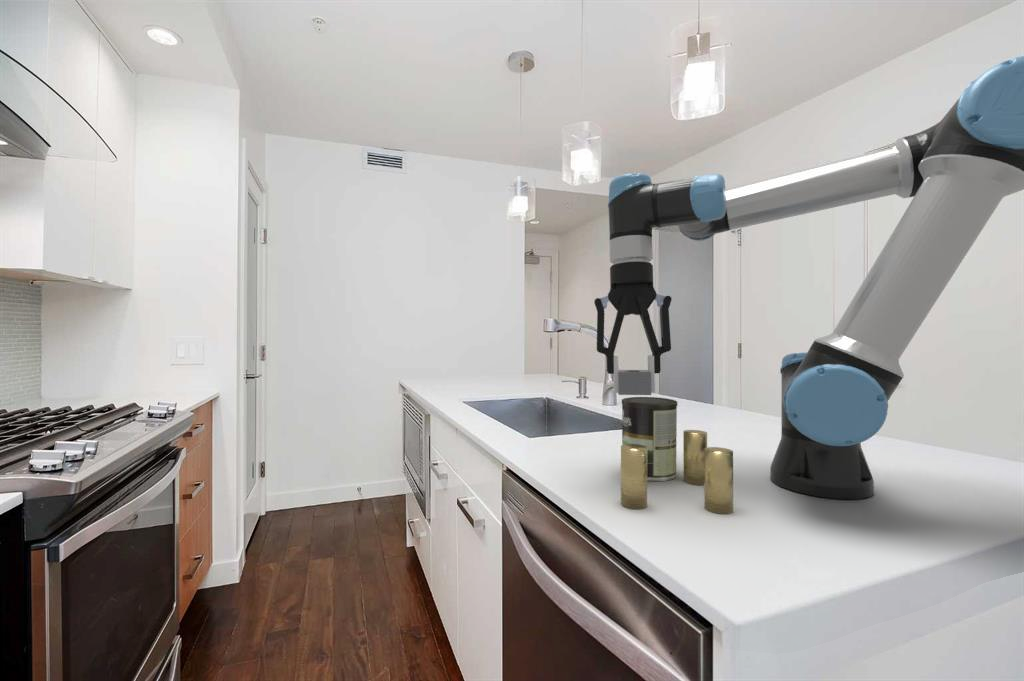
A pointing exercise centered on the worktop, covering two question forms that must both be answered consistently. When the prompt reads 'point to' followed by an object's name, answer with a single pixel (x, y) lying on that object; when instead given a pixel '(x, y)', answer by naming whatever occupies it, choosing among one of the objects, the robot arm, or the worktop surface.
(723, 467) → the brass spacer
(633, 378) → the grey square block
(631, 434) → the coffee can
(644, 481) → the brass spacer
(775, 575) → the worktop surface
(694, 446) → the brass spacer
